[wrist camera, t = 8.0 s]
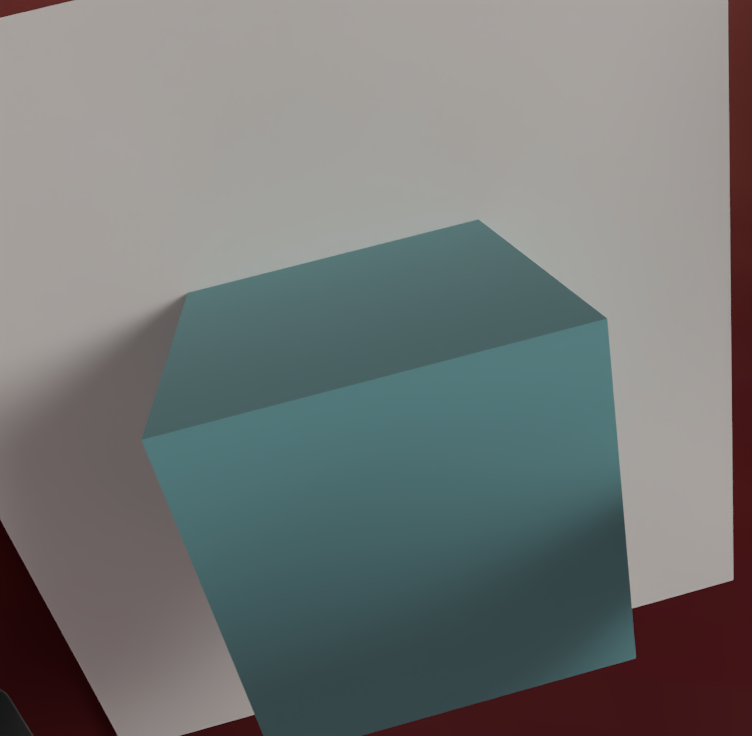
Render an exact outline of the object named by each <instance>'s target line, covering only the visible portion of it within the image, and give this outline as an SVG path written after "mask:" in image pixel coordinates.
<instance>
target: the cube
mask: <svg viewBox="0 0 752 736" xmlns="http://www.w3.org/2000/svg"><path fill="white" fill-rule="evenodd" d="M141 440H142V443H143V445H144V448H145V450H146V453H147V455H148V457H149V460H150V462H151V465H152V467H153V469H154V472H155V474H156V477H157V479H158V482H159V484H160V486H161V489H162V491H163V494H164V496H165V499H166V501H167V503H168V506H169V508H170V511H171V513H172V515H173V518H174V520H175V523H176V525H177V528H178V530H179V532H180V535H181V537H182V540H183V542H184V545H185V547H186V549H187V552H188V554H189V557H190V559H191V561H192V564H193V566H194V569H195V571H196V574H197V576H198V578H199V581H200V583H201V586H202V588H203V591H204V593H205V595H206V598H207V600H208V603H209V605H210V607H211V610H212V612H213V615H214V617H215V620H216V622H217V624H218V627H219V629H220V632H221V634H222V637H223V639H224V641H225V644H226V646H227V649H228V651H229V653H230V656H231V658H232V661H233V663H234V666H235V668H236V670H237V673H238V675H239V678H240V680H241V683H242V685H243V687H244V690H245V692H246V695H247V697H248V699H249V702H250V704H251V707H252V709H253V712H254V714H255V716H256V719H257V721H258V724H259V726H260V729H261V731H262V733H263V736H362V735H365V734H369V733H372V732H376V731H379V730H383V729H387V728H390V727H394V726H397V725H401V724H404V723H408V722H411V721H415V720H419V719H422V718H426V717H429V716H433V715H436V714H440V713H443V712H447V711H450V710H454V709H458V708H461V707H465V706H468V705H472V704H475V703H479V702H482V701H486V700H490V699H493V698H497V697H500V696H504V695H507V694H511V693H514V692H518V691H522V690H525V689H529V688H532V687H536V686H539V685H543V684H546V683H550V682H553V681H557V680H561V679H564V678H568V677H571V676H575V675H578V674H582V673H585V672H589V671H593V670H596V669H600V668H603V667H607V666H610V665H614V664H617V663H621V662H624V661H628V660H632V659H635V658H636V652H635V640H634V628H633V617H632V605H631V593H630V581H629V569H628V558H627V546H626V534H625V522H624V511H623V499H622V487H621V475H620V463H619V452H618V440H617V428H616V416H615V404H614V393H613V381H612V369H611V357H610V345H609V334H608V322H607V318H606V317H605V316H603V315H602V314H601V313H599V312H598V311H597V310H595V309H594V308H593V307H592V306H590V305H589V304H588V303H586V302H585V301H584V300H582V299H581V298H580V297H579V296H577V295H576V294H575V293H573V292H572V291H571V290H570V289H568V288H567V287H566V286H564V285H563V284H562V283H560V282H559V281H558V280H557V279H555V278H554V277H553V276H551V275H550V274H549V273H547V272H546V271H545V270H544V269H542V268H541V267H540V266H538V265H537V264H536V263H534V262H533V261H532V260H531V259H529V258H528V257H527V256H525V255H524V254H523V253H522V252H520V251H519V250H518V249H516V248H515V247H514V246H512V245H511V244H510V243H509V242H507V241H506V240H505V239H503V238H502V237H501V236H499V235H498V234H497V233H496V232H494V231H493V230H492V229H490V228H489V227H488V226H486V225H485V224H484V223H483V222H481V221H480V220H479V219H478V220H474V221H470V222H466V223H462V224H458V225H454V226H450V227H446V228H442V229H438V230H434V231H430V232H426V233H422V234H418V235H414V236H411V237H407V238H403V239H399V240H395V241H391V242H387V243H383V244H379V245H375V246H371V247H367V248H363V249H359V250H355V251H351V252H347V253H343V254H339V255H335V256H331V257H327V258H323V259H319V260H315V261H312V262H308V263H304V264H300V265H296V266H292V267H288V268H284V269H280V270H276V271H272V272H268V273H264V274H260V275H256V276H252V277H248V278H244V279H240V280H236V281H232V282H228V283H224V284H220V285H216V286H213V287H209V288H205V289H201V290H197V291H193V292H189V293H187V296H186V300H185V303H184V306H183V309H182V312H181V315H180V319H179V322H178V325H177V328H176V331H175V335H174V338H173V341H172V344H171V347H170V350H169V354H168V357H167V360H166V363H165V366H164V369H163V373H162V376H161V379H160V382H159V385H158V388H157V392H156V395H155V398H154V401H153V404H152V408H151V411H150V414H149V417H148V420H147V423H146V427H145V430H144V433H143V436H142V439H141Z"/></svg>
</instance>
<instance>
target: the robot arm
mask: <svg viewBox="0 0 752 736" xmlns="http://www.w3.org/2000/svg"><path fill="white" fill-rule="evenodd" d="M0 736H33V734H32V733H31V731H30V729H29V728H28V726H27V724H26V723H25V721H24V720H23V718H22V716H21V715H20V713H19V712H18V710H17V708H16V707H15V705H14V703H13V702H12V700H11V699H10V697H9V696H8V695H7V693H6V692H4V691H3V690H1V689H0Z"/></svg>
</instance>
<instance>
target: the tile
mask: <svg viewBox="0 0 752 736" xmlns="http://www.w3.org/2000/svg"><path fill="white" fill-rule="evenodd" d="M478 219H479V220H480V221H481V222H483V223H484V224H485V225H486V226H488V227H489V228H490V229H492V230H493V231H494V232H496V233H497V234H498V235H499V236H501V237H502V238H503V239H505V240H506V241H507V242H509V243H510V244H511V245H512V246H514V247H515V248H516V249H518V250H519V251H520V252H522V253H523V254H524V255H525V256H527V257H528V258H529V259H531V260H532V261H533V262H534V263H536V264H537V265H538V266H540V267H541V268H542V269H544V270H545V271H546V272H547V273H549V274H550V275H551V276H553V277H554V278H555V279H557V280H558V281H559V282H560V283H562V284H563V285H564V286H566V287H567V288H568V289H570V290H571V291H572V292H573V293H575V294H576V295H577V296H579V297H580V298H581V299H582V300H584V301H585V302H586V303H588V304H589V305H590V306H592V307H593V308H594V309H595V310H597V311H598V312H599V313H601V314H602V315H603V316H605V317H606V318H607V322H608V334H609V345H610V357H611V369H612V381H613V393H614V404H615V416H616V428H617V440H618V452H619V463H620V475H621V487H622V499H623V511H624V522H625V534H626V546H627V558H628V569H629V581H630V593H631V605H632V608H636V607H639V606H643V605H646V604H650V603H653V602H657V601H660V600H664V599H668V598H671V597H675V596H678V595H682V594H685V593H689V592H692V591H696V590H700V589H703V588H707V587H710V586H714V585H717V584H721V583H724V582H728V581H732V580H733V486H732V380H731V274H730V167H729V61H728V0H74V1H69V2H65V3H61V4H57V5H53V6H48V7H44V8H40V9H36V10H32V11H27V12H23V13H19V14H15V15H11V16H6V17H2V18H0V520H1V522H2V524H3V526H4V527H5V529H6V531H7V533H8V535H9V537H10V538H11V540H12V542H13V544H14V546H15V548H16V549H17V551H18V553H19V555H20V557H21V559H22V560H23V562H24V564H25V566H26V568H27V570H28V571H29V573H30V575H31V577H32V579H33V581H34V582H35V584H36V586H37V588H38V590H39V592H40V594H41V595H42V597H43V599H44V601H45V603H46V605H47V606H48V608H49V610H50V612H51V614H52V616H53V617H54V619H55V621H56V623H57V625H58V627H59V628H60V630H61V632H62V634H63V636H64V638H65V639H66V641H67V643H68V645H69V647H70V649H71V650H72V652H73V654H74V656H75V658H76V660H77V661H78V663H79V665H80V667H81V669H82V671H83V672H84V674H85V676H86V678H87V680H88V682H89V684H90V685H91V687H92V689H93V691H94V693H95V695H96V696H97V698H98V700H99V702H100V704H101V706H102V707H103V709H104V711H105V713H106V715H107V717H108V718H109V720H110V722H111V724H112V726H113V728H114V729H115V731H116V733H117V735H118V736H180V735H184V734H187V733H191V732H194V731H198V730H201V729H205V728H209V727H212V726H216V725H219V724H223V723H226V722H230V721H234V720H237V719H241V718H244V717H248V716H251V715H255V714H254V712H253V709H252V707H251V704H250V702H249V699H248V697H247V695H246V692H245V690H244V687H243V685H242V683H241V680H240V678H239V675H238V673H237V670H236V668H235V666H234V663H233V661H232V658H231V656H230V653H229V651H228V649H227V646H226V644H225V641H224V639H223V637H222V634H221V632H220V629H219V627H218V624H217V622H216V620H215V617H214V615H213V612H212V610H211V607H210V605H209V603H208V600H207V598H206V595H205V593H204V591H203V588H202V586H201V583H200V581H199V578H198V576H197V574H196V571H195V569H194V566H193V564H192V561H191V559H190V557H189V554H188V552H187V549H186V547H185V545H184V542H183V540H182V537H181V535H180V532H179V530H178V528H177V525H176V523H175V520H174V518H173V515H172V513H171V511H170V508H169V506H168V503H167V501H166V499H165V496H164V494H163V491H162V489H161V486H160V484H159V482H158V479H157V477H156V474H155V472H154V469H153V467H152V465H151V462H150V460H149V457H148V455H147V453H146V450H145V448H144V445H143V443H142V440H141V439H142V436H143V433H144V430H145V427H146V423H147V420H148V417H149V414H150V411H151V408H152V404H153V401H154V398H155V395H156V392H157V388H158V385H159V382H160V379H161V376H162V373H163V369H164V366H165V363H166V360H167V357H168V354H169V350H170V347H171V344H172V341H173V338H174V335H175V331H176V328H177V325H178V322H179V319H180V315H181V312H182V309H183V306H184V303H185V300H186V296H187V293H189V292H193V291H197V290H201V289H205V288H209V287H213V286H216V285H220V284H224V283H228V282H232V281H236V280H240V279H244V278H248V277H252V276H256V275H260V274H264V273H268V272H272V271H276V270H280V269H284V268H288V267H292V266H296V265H300V264H304V263H308V262H312V261H315V260H319V259H323V258H327V257H331V256H335V255H339V254H343V253H347V252H351V251H355V250H359V249H363V248H367V247H371V246H375V245H379V244H383V243H387V242H391V241H395V240H399V239H403V238H407V237H411V236H414V235H418V234H422V233H426V232H430V231H434V230H438V229H442V228H446V227H450V226H454V225H458V224H462V223H466V222H470V221H474V220H478Z"/></svg>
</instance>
